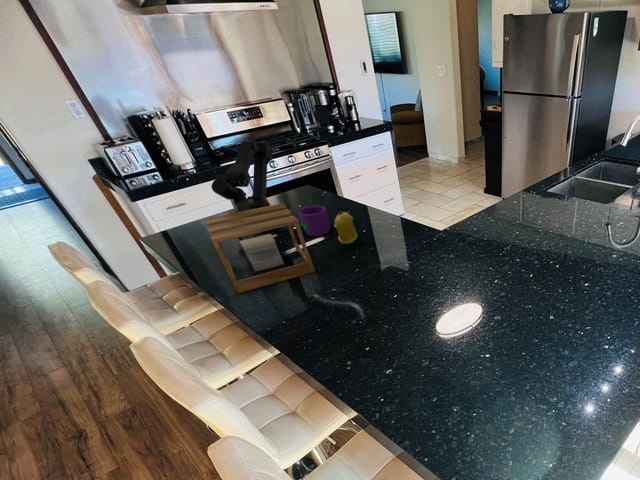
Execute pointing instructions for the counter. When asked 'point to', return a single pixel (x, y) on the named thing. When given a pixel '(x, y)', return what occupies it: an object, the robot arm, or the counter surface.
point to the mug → (314, 220)
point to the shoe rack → (252, 224)
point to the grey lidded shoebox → (263, 254)
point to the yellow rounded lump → (345, 228)
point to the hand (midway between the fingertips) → (256, 240)
